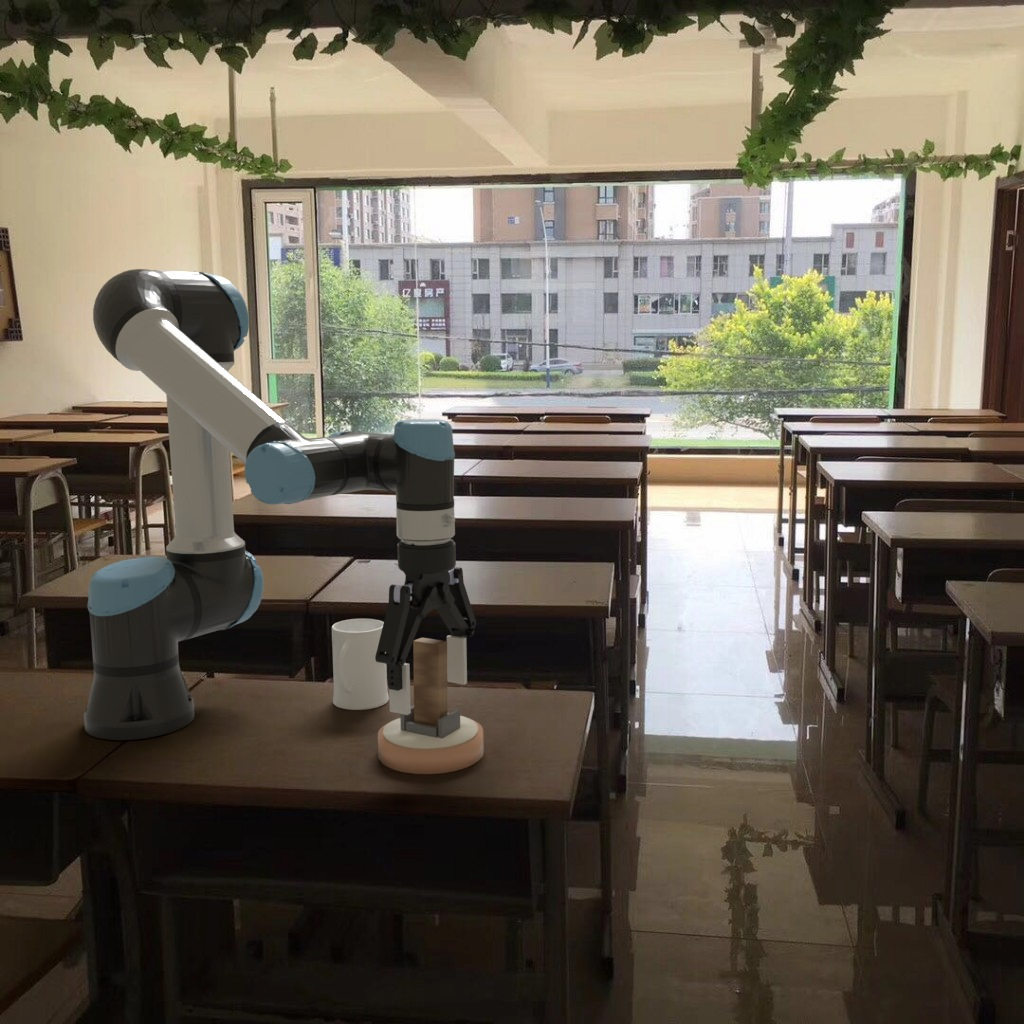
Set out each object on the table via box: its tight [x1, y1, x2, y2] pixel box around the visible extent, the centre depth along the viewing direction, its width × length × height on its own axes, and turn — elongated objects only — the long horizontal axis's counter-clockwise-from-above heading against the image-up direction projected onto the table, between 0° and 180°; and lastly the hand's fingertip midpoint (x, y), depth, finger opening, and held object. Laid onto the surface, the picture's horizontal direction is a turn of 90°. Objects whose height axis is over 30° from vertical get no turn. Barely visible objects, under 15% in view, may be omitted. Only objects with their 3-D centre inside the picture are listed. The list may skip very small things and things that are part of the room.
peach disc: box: [377, 704, 484, 775], centre depth 143 cm, size 14×14×6 cm
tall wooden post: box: [412, 637, 449, 727], centre depth 142 cm, size 4×2×12 cm, turn 61°
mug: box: [331, 618, 390, 711], centre depth 162 cm, size 12×8×12 cm
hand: (429, 697), depth 143 cm, fingers open, 13 cm apart
